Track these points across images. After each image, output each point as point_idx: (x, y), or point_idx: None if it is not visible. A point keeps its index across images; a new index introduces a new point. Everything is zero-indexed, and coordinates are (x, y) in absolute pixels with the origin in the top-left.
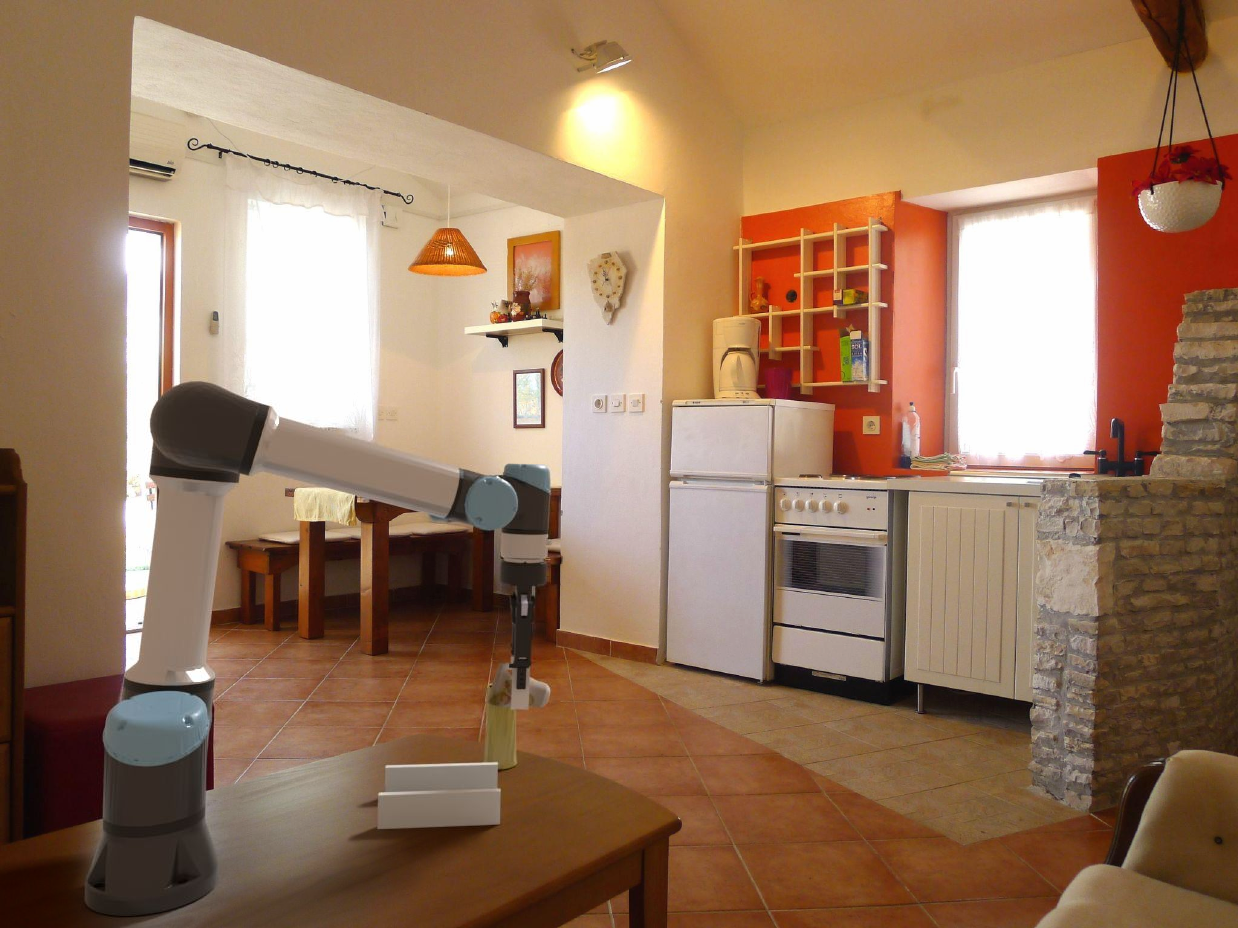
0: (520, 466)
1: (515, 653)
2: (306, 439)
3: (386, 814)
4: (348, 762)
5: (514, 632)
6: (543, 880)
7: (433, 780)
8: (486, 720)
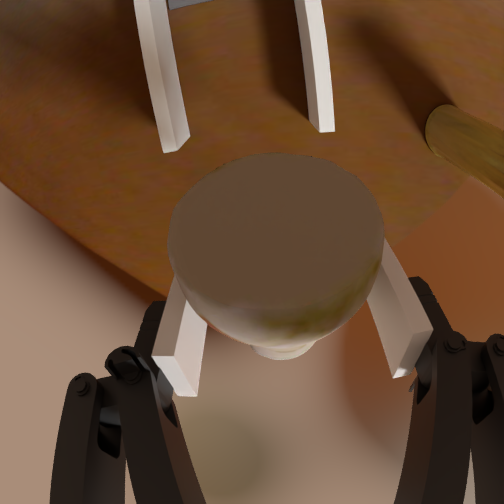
0: None
1: (61, 423)
2: None
3: None
4: None
5: (424, 471)
6: (49, 214)
7: (300, 11)
8: (493, 127)
